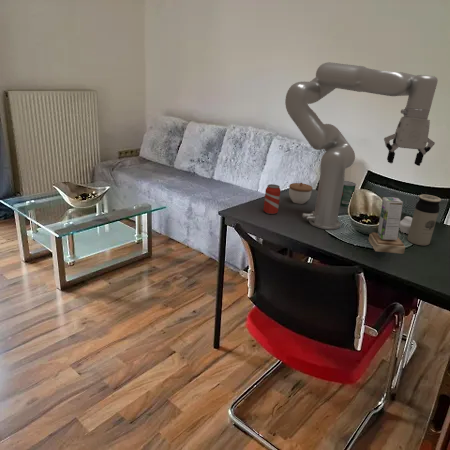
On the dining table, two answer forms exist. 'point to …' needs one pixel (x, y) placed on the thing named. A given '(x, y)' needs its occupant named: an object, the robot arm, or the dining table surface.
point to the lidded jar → (300, 192)
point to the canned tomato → (347, 193)
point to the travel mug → (424, 220)
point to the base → (386, 244)
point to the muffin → (405, 224)
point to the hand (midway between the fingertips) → (403, 163)
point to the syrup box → (390, 218)
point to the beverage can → (272, 199)
